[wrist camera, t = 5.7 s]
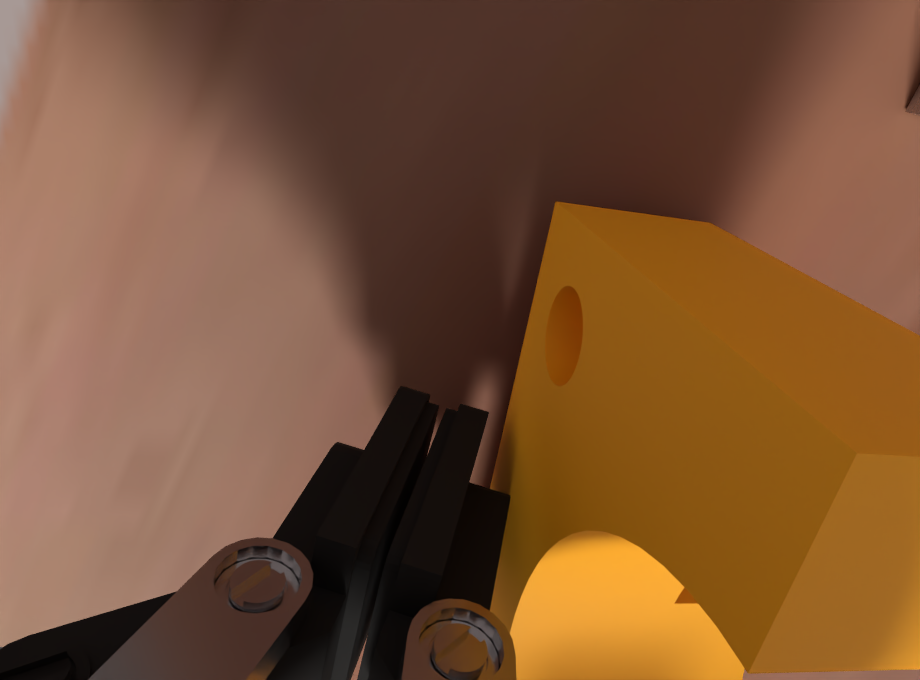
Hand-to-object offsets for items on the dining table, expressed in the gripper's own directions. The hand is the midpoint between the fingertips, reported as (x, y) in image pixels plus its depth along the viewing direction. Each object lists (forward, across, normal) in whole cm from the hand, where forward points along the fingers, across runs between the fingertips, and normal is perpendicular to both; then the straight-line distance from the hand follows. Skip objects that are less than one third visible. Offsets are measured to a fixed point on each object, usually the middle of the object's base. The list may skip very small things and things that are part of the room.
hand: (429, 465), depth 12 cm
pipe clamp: (+1, -3, +1) cm, 3 cm away
